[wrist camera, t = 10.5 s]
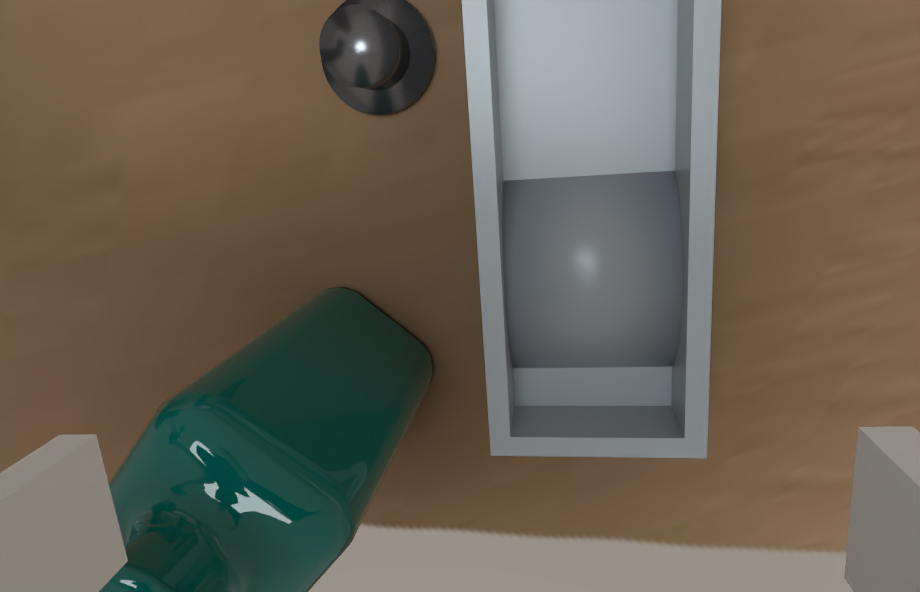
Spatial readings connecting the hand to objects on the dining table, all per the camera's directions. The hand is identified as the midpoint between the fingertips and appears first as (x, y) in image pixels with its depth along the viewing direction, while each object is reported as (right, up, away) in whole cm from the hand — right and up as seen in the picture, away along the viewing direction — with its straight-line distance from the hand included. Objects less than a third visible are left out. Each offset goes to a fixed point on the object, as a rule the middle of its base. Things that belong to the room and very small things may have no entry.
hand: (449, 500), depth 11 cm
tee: (-4, +16, +22) cm, 28 cm away
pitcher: (-7, -1, +28) cm, 28 cm away
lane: (+7, +20, +26) cm, 33 cm away
